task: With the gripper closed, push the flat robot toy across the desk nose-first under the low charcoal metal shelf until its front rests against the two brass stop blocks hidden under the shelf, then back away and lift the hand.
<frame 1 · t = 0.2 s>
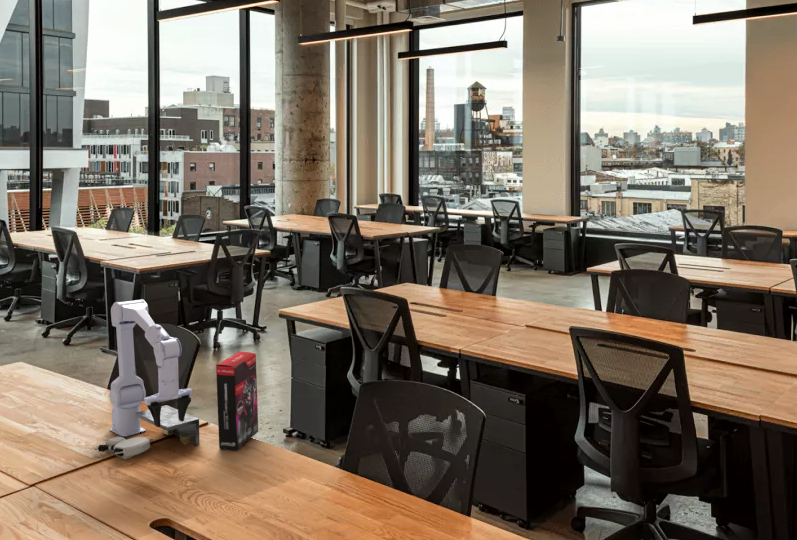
hand: (169, 423, 225), 10 cm above the table, tool pointing down, fingers open, 7 cm apart
overhang shelf: (167, 440, 238), on the table
graphics card box: (238, 441, 238), on the table
robot toy: (124, 454, 227), on the table
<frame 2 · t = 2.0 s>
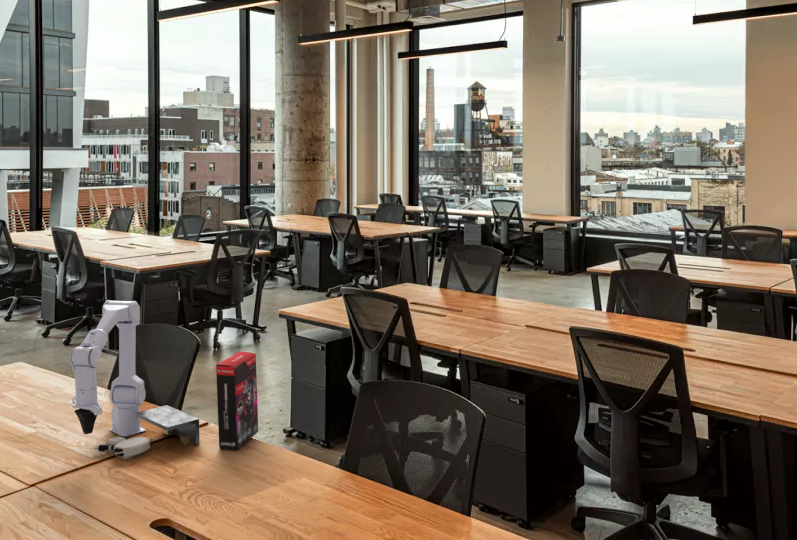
hand: (87, 433, 218), 9 cm above the table, tool pointing down, fingers closed
nothing on the table moved.
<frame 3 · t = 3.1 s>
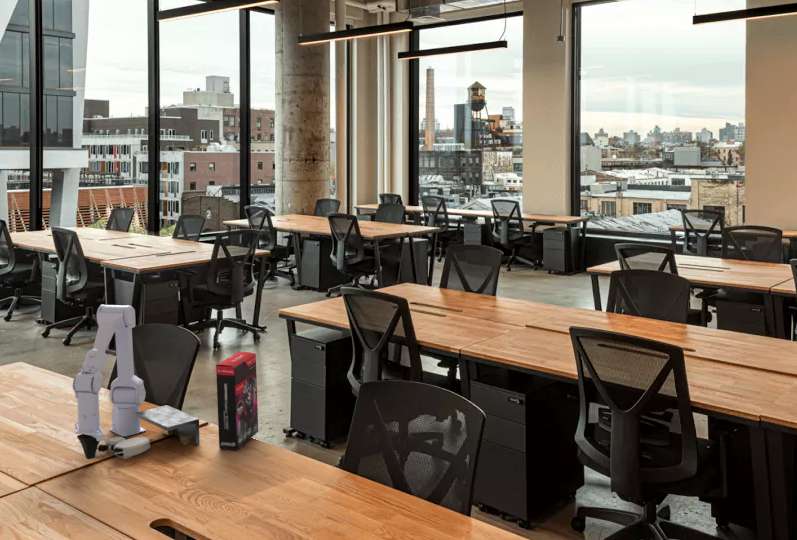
hand: (90, 458, 219), 1 cm above the table, tool pointing down, fingers closed
nothing on the table moved.
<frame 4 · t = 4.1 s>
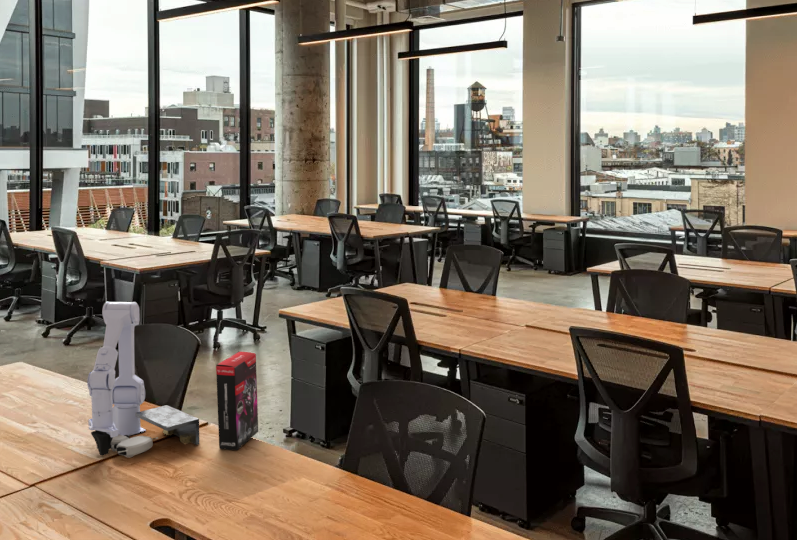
hand: (104, 454, 222), 1 cm above the table, tool pointing down, fingers closed
robot toy: (127, 453, 228), on the table, touching gripper
everything else where it was.
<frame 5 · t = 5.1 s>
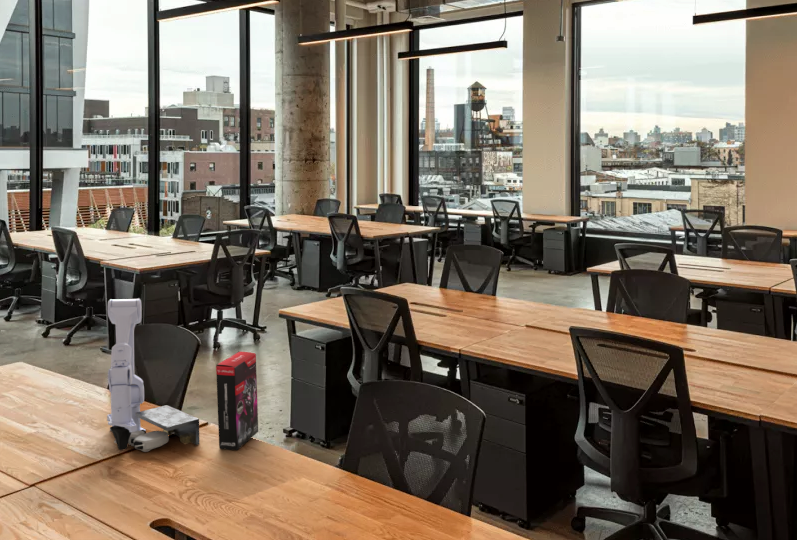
hand: (122, 449, 226), 1 cm above the table, tool pointing down, fingers closed
robot toy: (144, 447, 232), on the table, touching gripper
everything else where it was.
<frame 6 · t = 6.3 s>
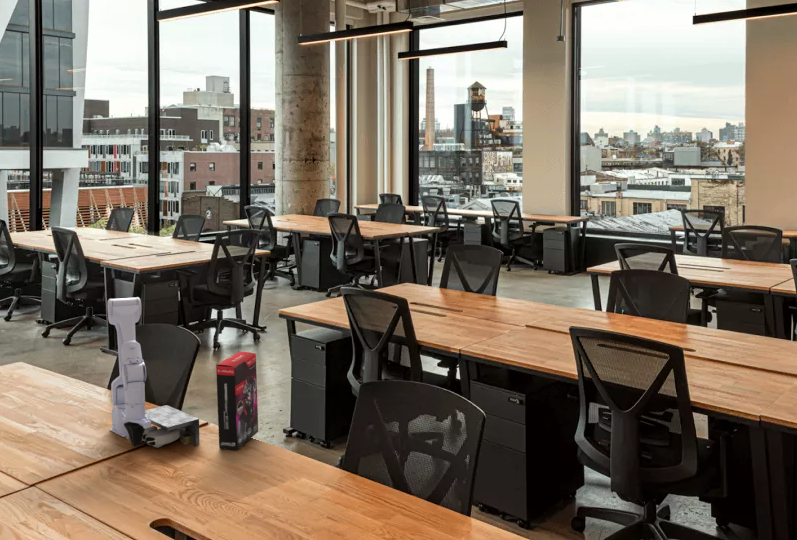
hand: (136, 445, 230), 1 cm above the table, tool pointing down, fingers closed
robot toy: (155, 443, 236), on the table, touching gripper, overhang shelf
everything else where it was.
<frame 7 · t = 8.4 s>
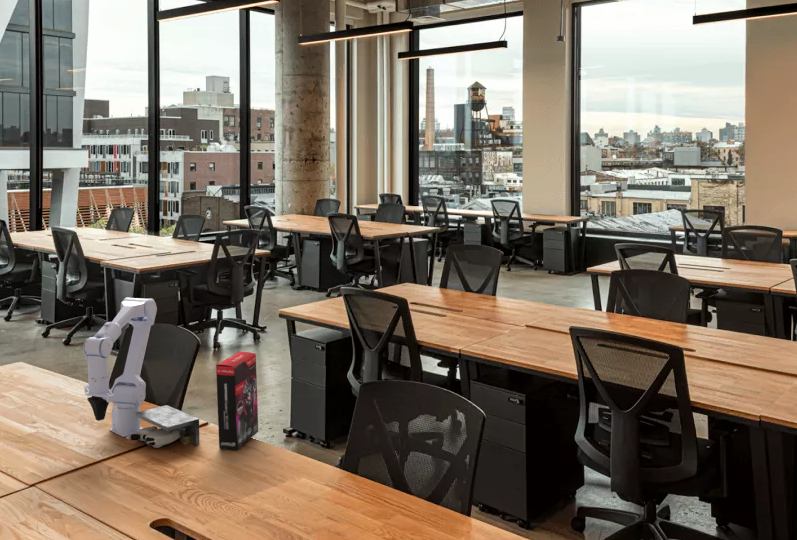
hand: (100, 419, 228), 9 cm above the table, tool pointing down, fingers closed
robot toy: (155, 443, 236), on the table
everything else where it was.
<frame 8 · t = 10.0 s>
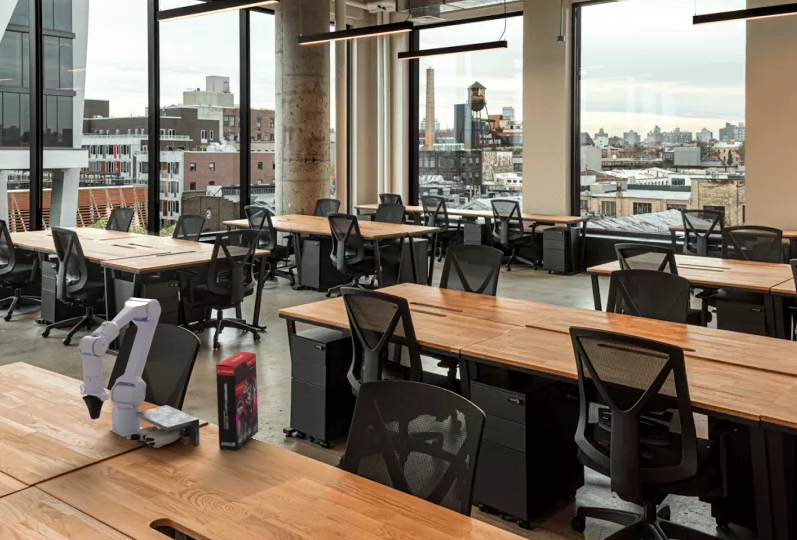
hand: (95, 418, 229), 9 cm above the table, tool pointing down, fingers closed
nothing on the table moved.
at the end: robot toy 1.4 cm from the target spot, on the table; robot toy tilted 2°; robot toy moved 11.2 cm from its start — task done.
